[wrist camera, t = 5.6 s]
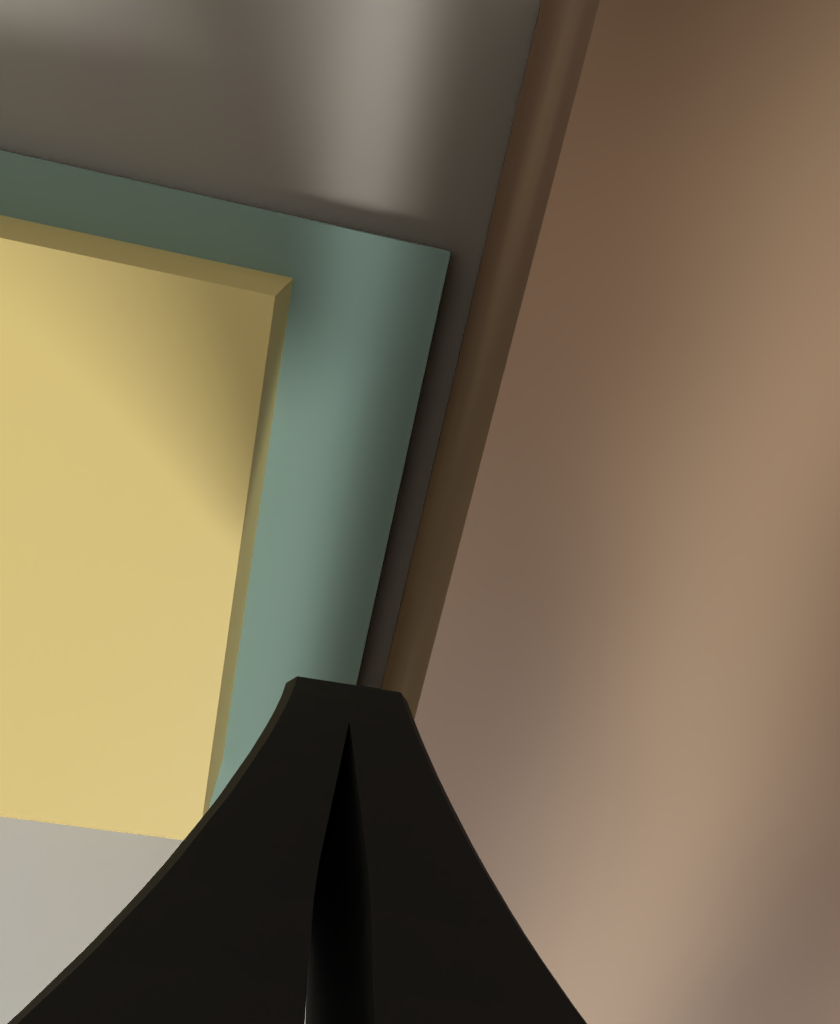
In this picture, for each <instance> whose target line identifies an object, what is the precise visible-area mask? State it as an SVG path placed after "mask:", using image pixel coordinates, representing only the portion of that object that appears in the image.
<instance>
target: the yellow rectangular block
mask: <svg viewBox="0 0 840 1024" xmlns="http://www.w3.org/2000/svg"><path fill="white" fill-rule="evenodd" d="M292 285H293V278H291V277H286V276H281V275H277V274H272V273H267V272H263V271H258V270H253V269H249V268H244V267H239V266H235V265H230V264H226V263H221V262H216V261H212V260H207V259H202V258H198V257H193V256H188V255H184V254H179V253H174V252H170V251H165V250H161V249H156V248H151V247H147V246H142V245H137V244H133V243H128V242H123V241H119V240H114V239H109V238H105V237H100V236H95V235H91V234H86V233H82V232H77V231H72V230H68V229H63V228H58V227H54V226H49V225H44V224H40V223H35V222H30V221H26V220H21V219H17V218H12V217H7V216H3V215H0V816H1V817H8V818H16V819H24V820H32V821H39V822H47V823H55V824H63V825H70V826H78V827H86V828H94V829H101V830H109V831H117V832H124V833H132V834H140V835H148V836H155V837H163V838H171V839H179V840H184V839H185V838H186V837H187V836H188V834H189V833H190V832H191V831H192V829H193V828H194V827H195V826H196V825H197V823H198V822H199V821H200V820H201V818H202V817H203V816H204V815H205V813H206V812H207V811H208V809H209V806H210V802H211V799H212V795H213V792H214V788H215V785H216V781H217V778H218V774H219V771H220V767H221V764H222V761H223V754H224V747H225V741H226V734H227V727H228V720H229V713H230V707H231V700H232V693H233V686H234V679H235V673H236V666H237V659H238V652H239V645H240V639H241V632H242V625H243V618H244V611H245V605H246V598H247V591H248V584H249V577H250V571H251V564H252V557H253V550H254V543H255V536H256V530H257V523H258V516H259V509H260V502H261V496H262V489H263V482H264V475H265V468H266V462H267V455H268V448H269V441H270V434H271V428H272V421H273V414H274V407H275V400H276V394H277V387H278V380H279V373H280V366H281V360H282V353H283V346H284V339H285V332H286V326H287V319H288V312H289V305H290V298H291V292H292Z"/></svg>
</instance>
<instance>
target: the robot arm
mask: <svg viewBox="0 0 840 1024" xmlns="http://www.w3.org/2000/svg"><path fill="white" fill-rule="evenodd" d="M305 1006H306V1024H587V1023H586V1021H585V1020H584V1019H583V1017H582V1016H581V1015H580V1013H579V1012H578V1011H577V1009H576V1008H575V1007H574V1005H573V1004H572V1002H571V1001H570V999H569V998H568V997H567V995H566V994H565V992H564V991H563V989H562V988H561V987H560V985H559V984H558V982H557V981H556V979H555V978H554V976H553V975H552V974H551V972H550V971H549V969H548V968H547V966H546V965H545V963H544V962H543V961H542V959H541V958H540V956H539V955H538V953H537V951H536V950H535V948H534V947H533V945H532V944H531V942H530V941H529V939H528V938H527V936H526V935H525V933H524V931H523V930H522V928H521V927H520V925H519V923H518V922H517V920H516V919H515V917H514V915H513V914H512V912H511V911H510V909H509V907H508V906H507V904H506V902H505V901H504V899H503V897H502V895H501V894H500V892H499V890H498V889H497V887H496V885H495V884H494V882H493V880H492V879H491V877H490V875H489V873H488V872H487V870H486V868H485V866H484V865H483V863H482V861H481V859H480V857H479V856H478V854H477V852H476V850H475V848H474V847H473V845H472V843H471V841H470V839H469V837H468V835H467V833H466V831H465V829H464V827H463V825H462V823H461V822H460V820H459V818H458V816H457V814H456V812H455V810H454V808H453V806H452V804H451V802H450V800H449V798H448V796H447V794H446V792H445V790H444V788H443V786H442V784H441V782H440V779H439V777H438V775H437V773H436V771H435V768H434V766H433V764H432V762H431V759H430V757H429V755H428V753H427V750H426V748H425V746H424V743H423V741H422V739H421V736H420V734H419V731H418V729H417V726H416V724H415V721H414V718H413V716H412V713H411V710H410V707H409V705H408V702H407V700H406V699H405V698H404V696H403V695H402V693H401V692H396V691H389V690H383V689H377V688H370V687H364V686H357V685H351V684H344V683H338V682H332V681H325V680H319V679H312V678H306V677H300V676H297V677H295V678H293V679H292V680H290V681H288V682H287V683H286V684H285V687H284V690H283V693H282V696H281V698H280V700H279V702H278V704H277V707H276V709H275V711H274V713H273V714H272V716H271V718H270V720H269V722H268V723H267V725H266V727H265V729H264V730H263V732H262V733H261V735H260V737H259V738H258V740H257V742H256V743H255V745H254V746H253V748H252V750H251V751H250V753H249V754H248V755H247V757H246V758H245V760H244V761H243V763H242V764H241V765H240V767H239V768H238V770H237V771H236V773H235V774H234V775H233V777H232V778H231V780H230V781H229V783H228V784H227V785H226V787H225V788H224V790H223V791H222V793H221V794H220V795H219V797H218V798H217V799H216V801H215V802H214V803H213V805H212V806H211V807H210V808H209V810H208V811H207V812H206V813H205V815H204V816H203V817H202V818H201V820H200V821H199V822H198V823H197V825H196V826H195V827H194V828H193V829H192V831H191V832H190V833H189V834H188V836H187V837H186V838H185V839H184V841H183V842H182V843H181V844H180V846H179V847H178V848H177V849H176V850H175V852H174V853H173V854H172V855H171V857H170V858H169V859H168V860H167V861H166V863H165V864H164V865H163V866H162V867H161V868H160V869H159V871H158V872H157V873H156V874H155V875H154V876H153V877H152V879H151V880H150V881H149V882H148V883H147V884H146V885H145V886H144V888H143V889H142V890H141V891H140V892H139V893H138V894H137V895H136V896H135V897H134V899H133V900H132V901H131V902H130V903H129V904H128V905H127V906H126V907H125V908H124V909H123V910H122V911H121V913H120V914H119V915H118V916H117V917H116V918H115V919H114V920H113V921H112V922H111V923H110V924H109V925H108V926H107V927H106V928H105V929H104V930H103V931H102V932H101V933H100V935H99V936H98V937H97V938H96V939H95V940H94V941H93V942H92V943H91V944H90V945H89V946H88V947H87V948H86V949H85V950H84V951H83V952H82V953H81V954H80V955H79V956H78V957H77V958H76V959H75V960H74V961H73V962H71V963H70V964H69V965H68V966H67V967H66V968H65V969H64V970H63V971H62V972H61V973H60V974H59V975H58V976H57V977H56V978H55V979H54V980H53V981H52V982H51V983H50V984H49V985H48V986H47V987H46V988H45V989H44V990H43V991H42V992H40V993H39V994H38V995H37V996H36V997H35V998H34V999H33V1000H32V1001H31V1002H30V1003H29V1004H28V1005H27V1006H26V1007H25V1008H24V1009H23V1010H22V1011H21V1012H20V1013H19V1014H17V1015H16V1016H15V1017H14V1018H13V1019H12V1020H11V1021H10V1022H9V1023H8V1024H304V1021H305Z"/></svg>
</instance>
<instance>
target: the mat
mask: <svg viewBox="0 0 840 1024" xmlns="http://www.w3.org/2000/svg"><path fill="white" fill-rule="evenodd" d="M0 215H3V216H7V217H12V218H17V219H21V220H26V221H30V222H35V223H40V224H44V225H49V226H54V227H58V228H63V229H68V230H72V231H77V232H82V233H86V234H91V235H95V236H100V237H105V238H109V239H114V240H119V241H123V242H128V243H133V244H137V245H142V246H147V247H151V248H156V249H161V250H165V251H170V252H174V253H179V254H184V255H188V256H193V257H198V258H202V259H207V260H212V261H216V262H221V263H226V264H230V265H235V266H239V267H244V268H249V269H253V270H258V271H263V272H267V273H272V274H277V275H281V276H286V277H291V278H293V285H292V292H291V298H290V305H289V312H288V319H287V326H286V332H285V339H284V346H283V353H282V360H281V366H280V373H279V380H278V387H277V394H276V400H275V407H274V414H273V421H272V428H271V434H270V441H269V448H268V455H267V462H266V468H265V475H264V482H263V489H262V496H261V502H260V509H259V516H258V523H257V530H256V536H255V543H254V550H253V557H252V564H251V571H250V577H249V584H248V591H247V598H246V605H245V611H244V618H243V625H242V632H241V639H240V645H239V652H238V659H237V666H236V673H235V679H234V686H233V693H232V700H231V707H230V713H229V720H228V727H227V734H226V741H225V747H224V754H223V761H222V764H221V767H220V771H219V774H218V778H217V781H216V785H215V788H214V792H213V795H212V799H211V802H210V806H212V805H213V803H214V802H215V801H216V799H217V798H218V797H219V795H220V794H221V793H222V791H223V790H224V788H225V787H226V785H227V784H228V783H229V781H230V780H231V778H232V777H233V775H234V774H235V773H236V771H237V770H238V768H239V767H240V765H241V764H242V763H243V761H244V760H245V758H246V757H247V755H248V754H249V753H250V751H251V750H252V748H253V746H254V745H255V743H256V742H257V740H258V738H259V737H260V735H261V733H262V732H263V730H264V729H265V727H266V725H267V723H268V722H269V720H270V718H271V716H272V714H273V713H274V711H275V709H276V707H277V704H278V702H279V700H280V698H281V696H282V693H283V690H284V687H285V684H286V683H287V682H288V681H290V680H292V679H293V678H295V677H297V676H300V677H306V678H312V679H319V680H325V681H332V682H338V683H344V684H351V685H356V683H357V679H358V674H359V670H360V665H361V661H362V656H363V651H364V647H365V642H366V638H367V633H368V629H369V624H370V619H371V615H372V610H373V606H374V601H375V596H376V592H377V587H378V583H379V578H380V574H381V569H382V564H383V560H384V555H385V551H386V546H387V542H388V537H389V532H390V528H391V523H392V519H393V514H394V510H395V505H396V500H397V496H398V491H399V487H400V482H401V477H402V473H403V468H404V464H405V459H406V455H407V450H408V445H409V441H410V436H411V432H412V427H413V423H414V418H415V413H416V409H417V404H418V400H419V395H420V391H421V386H422V381H423V377H424V372H425V368H426V363H427V358H428V354H429V349H430V345H431V340H432V336H433V331H434V326H435V322H436V317H437V313H438V308H439V304H440V299H441V294H442V290H443V285H444V281H445V276H446V271H447V267H448V262H449V258H450V253H451V252H450V251H449V250H444V249H440V248H435V247H431V246H426V245H422V244H417V243H413V242H408V241H404V240H400V239H395V238H391V237H386V236H382V235H377V234H373V233H368V232H364V231H359V230H355V229H351V228H346V227H342V226H337V225H333V224H328V223H324V222H319V221H315V220H310V219H306V218H302V217H297V216H293V215H288V214H284V213H279V212H275V211H270V210H266V209H261V208H257V207H253V206H248V205H244V204H239V203H235V202H230V201H226V200H221V199H217V198H212V197H208V196H204V195H199V194H195V193H190V192H186V191H181V190H177V189H172V188H168V187H163V186H159V185H155V184H150V183H146V182H141V181H137V180H132V179H128V178H123V177H119V176H114V175H110V174H106V173H101V172H97V171H92V170H88V169H83V168H79V167H74V166H70V165H65V164H61V163H57V162H52V161H48V160H43V159H39V158H34V157H30V156H25V155H21V154H16V153H12V152H8V151H3V150H0Z"/></svg>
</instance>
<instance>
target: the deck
mask: <svg viewBox="0 0 840 1024" xmlns="http://www.w3.org/2000/svg"><path fill="white" fill-rule="evenodd" d="M381 689H383V690H389V691H396V692H401V693H402V695H403V696H404V698H405V699H406V700H407V702H408V705H409V707H410V710H411V713H412V716H413V718H414V721H415V724H416V726H417V729H418V731H419V734H420V736H421V739H422V741H423V743H424V746H425V748H426V750H427V753H428V755H429V757H430V759H431V762H432V764H433V766H434V768H435V771H436V773H437V775H438V777H439V779H440V782H441V784H442V786H443V788H444V790H445V792H446V794H447V796H448V798H449V800H450V802H451V804H452V806H453V808H454V810H455V812H456V814H457V816H458V818H459V820H460V822H461V823H462V825H463V827H464V829H465V831H466V833H467V835H468V837H469V839H470V841H471V843H472V845H473V847H474V848H475V850H476V852H477V854H478V856H479V857H480V859H481V861H482V863H483V865H484V866H485V868H486V870H487V872H488V873H489V875H490V877H491V879H492V880H493V882H494V884H495V885H496V887H497V889H498V890H499V892H500V894H501V895H502V897H503V899H504V901H505V902H506V904H507V906H508V907H509V909H510V911H511V912H512V914H513V915H514V917H515V919H516V920H517V922H518V923H519V925H520V927H521V928H522V930H523V931H524V933H525V935H526V936H527V938H528V939H529V941H530V942H531V944H532V945H533V947H534V948H535V950H536V951H537V953H538V955H539V956H540V958H541V959H542V961H543V962H544V963H545V965H546V966H547V968H548V969H549V971H550V972H551V974H552V975H553V976H554V978H555V979H556V981H557V982H558V984H559V985H560V987H561V988H562V989H563V991H564V992H565V994H566V995H567V997H568V998H569V999H570V1001H571V1002H572V1004H573V1005H574V1007H575V1008H576V1009H577V1011H578V1012H579V1013H580V1015H581V1016H582V1017H583V1019H584V1020H585V1021H586V1023H587V1024H840V0H542V1H541V6H540V10H539V14H538V19H537V23H536V27H535V31H534V36H533V40H532V44H531V49H530V53H529V57H528V61H527V66H526V70H525V74H524V79H523V83H522V87H521V91H520V96H519V100H518V104H517V109H516V113H515V117H514V121H513V126H512V130H511V134H510V138H509V143H508V147H507V151H506V156H505V160H504V164H503V168H502V173H501V177H500V181H499V186H498V190H497V194H496V198H495V203H494V207H493V211H492V216H491V220H490V224H489V228H488V233H487V237H486V241H485V246H484V250H483V254H482V258H481V263H480V267H479V271H478V276H477V280H476V284H475V288H474V293H473V297H472V301H471V305H470V310H469V314H468V318H467V323H466V327H465V331H464V335H463V340H462V344H461V348H460V353H459V357H458V361H457V365H456V370H455V374H454V378H453V383H452V387H451V391H450V395H449V400H448V404H447V408H446V413H445V417H444V421H443V425H442V430H441V434H440V438H439V443H438V447H437V451H436V455H435V460H434V464H433V468H432V472H431V477H430V481H429V485H428V490H427V494H426V498H425V502H424V507H423V511H422V515H421V520H420V524H419V528H418V532H417V537H416V541H415V545H414V550H413V554H412V558H411V562H410V567H409V571H408V575H407V580H406V584H405V588H404V592H403V597H402V601H401V605H400V610H399V614H398V618H397V622H396V627H395V631H394V635H393V639H392V644H391V648H390V652H389V657H388V661H387V665H386V669H385V674H384V678H383V682H382V687H381Z"/></svg>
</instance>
